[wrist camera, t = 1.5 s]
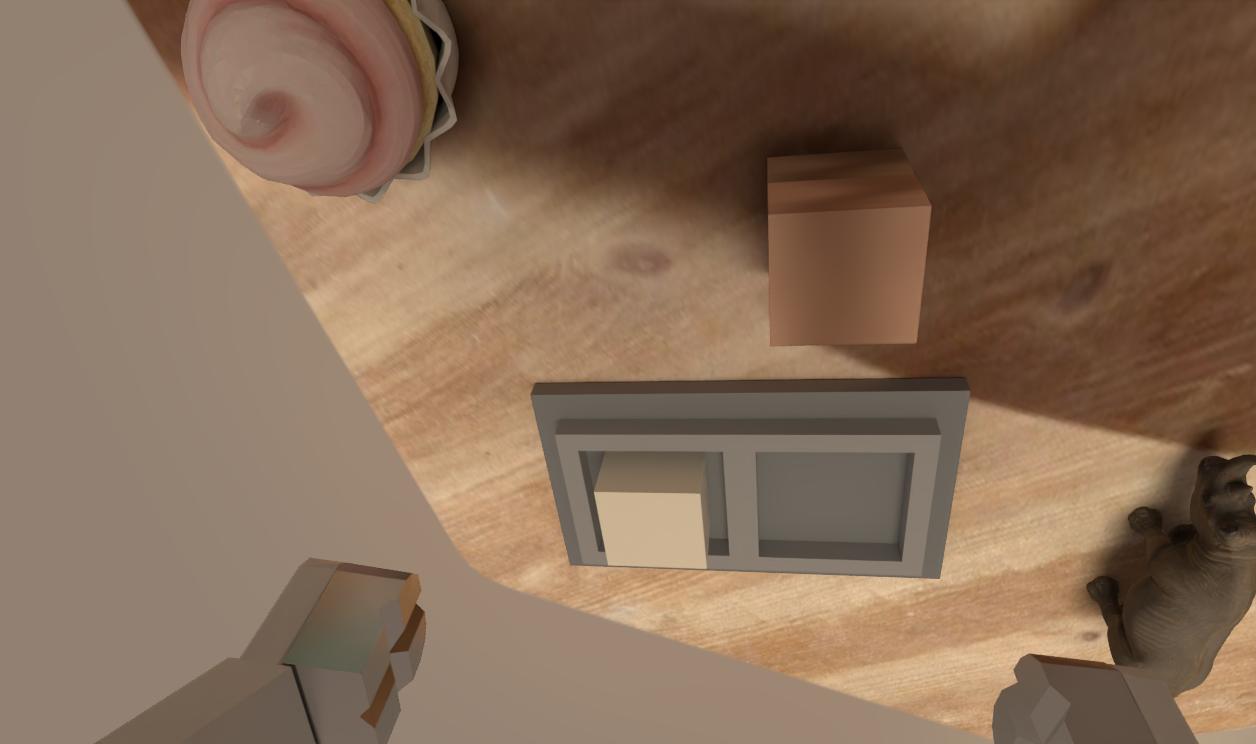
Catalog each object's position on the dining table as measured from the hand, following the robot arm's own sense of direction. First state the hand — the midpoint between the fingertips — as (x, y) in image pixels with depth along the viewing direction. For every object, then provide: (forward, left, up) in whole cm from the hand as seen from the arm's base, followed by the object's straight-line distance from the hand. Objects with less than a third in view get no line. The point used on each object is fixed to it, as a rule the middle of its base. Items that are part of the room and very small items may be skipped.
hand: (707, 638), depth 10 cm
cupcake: (+14, -5, -23) cm, 27 cm away
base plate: (+1, +17, -23) cm, 28 cm away
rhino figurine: (-19, +20, -23) cm, 36 cm away
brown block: (-3, +3, -23) cm, 23 cm away
